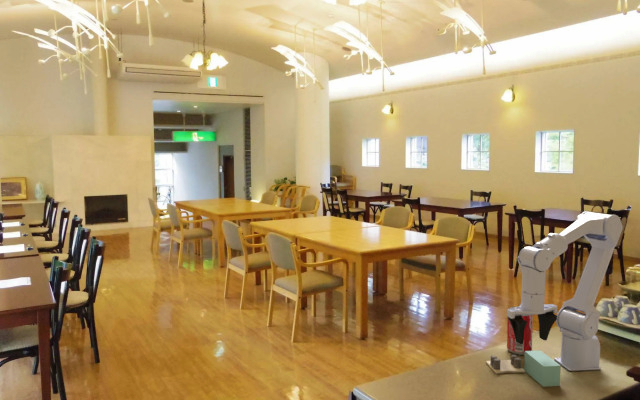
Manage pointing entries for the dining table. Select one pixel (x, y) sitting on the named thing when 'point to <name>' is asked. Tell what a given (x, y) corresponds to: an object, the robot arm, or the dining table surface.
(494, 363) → the stand
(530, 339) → the soda can
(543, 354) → the block
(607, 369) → the dining table surface
